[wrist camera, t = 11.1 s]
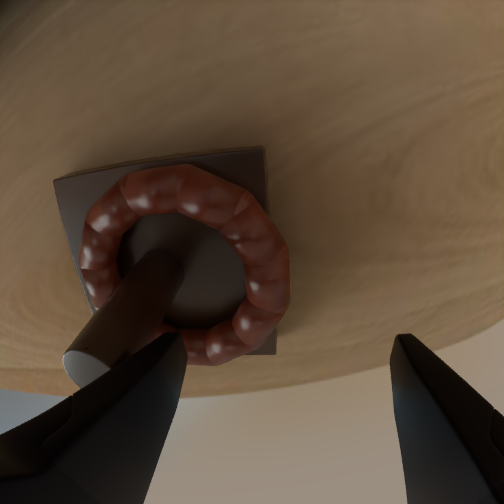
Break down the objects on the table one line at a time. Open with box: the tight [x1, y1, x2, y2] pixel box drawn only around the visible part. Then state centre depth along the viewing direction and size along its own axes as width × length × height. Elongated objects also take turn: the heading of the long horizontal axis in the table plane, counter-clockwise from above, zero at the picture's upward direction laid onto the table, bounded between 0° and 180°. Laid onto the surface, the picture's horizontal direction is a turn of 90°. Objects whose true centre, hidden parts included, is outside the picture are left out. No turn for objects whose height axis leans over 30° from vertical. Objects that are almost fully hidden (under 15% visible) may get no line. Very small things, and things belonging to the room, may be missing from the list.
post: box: [53, 146, 277, 389], centre depth 10 cm, size 9×9×7 cm
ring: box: [78, 164, 290, 366], centre depth 12 cm, size 8×8×2 cm
